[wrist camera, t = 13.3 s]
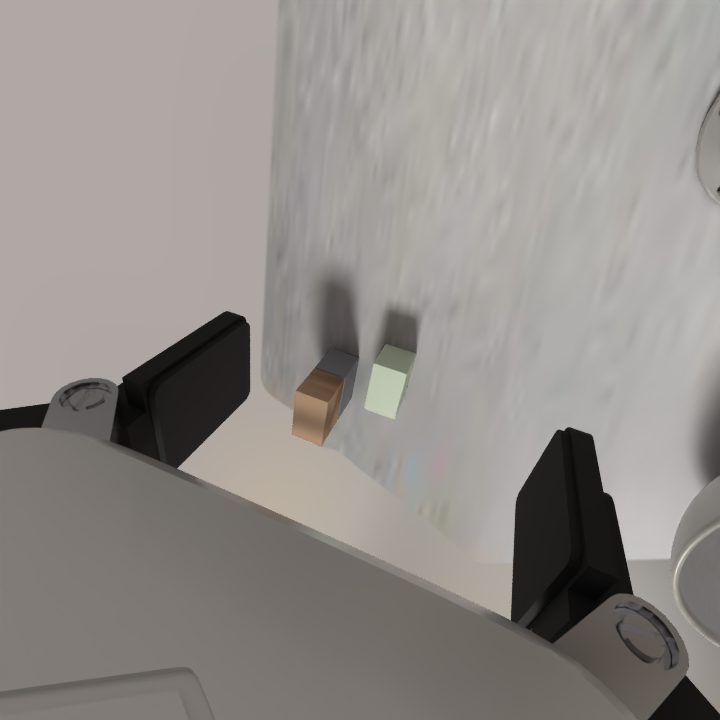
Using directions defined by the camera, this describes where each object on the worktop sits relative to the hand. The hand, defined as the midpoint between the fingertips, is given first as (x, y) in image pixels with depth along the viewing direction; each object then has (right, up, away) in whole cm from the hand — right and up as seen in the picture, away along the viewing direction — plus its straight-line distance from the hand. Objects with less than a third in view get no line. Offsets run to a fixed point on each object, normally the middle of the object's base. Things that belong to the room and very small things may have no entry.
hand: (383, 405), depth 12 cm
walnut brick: (-5, -3, +39) cm, 40 cm away
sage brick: (+4, 0, +40) cm, 40 cm away
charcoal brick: (-3, -1, +43) cm, 43 cm away
